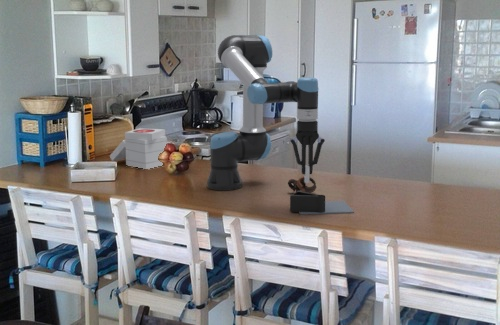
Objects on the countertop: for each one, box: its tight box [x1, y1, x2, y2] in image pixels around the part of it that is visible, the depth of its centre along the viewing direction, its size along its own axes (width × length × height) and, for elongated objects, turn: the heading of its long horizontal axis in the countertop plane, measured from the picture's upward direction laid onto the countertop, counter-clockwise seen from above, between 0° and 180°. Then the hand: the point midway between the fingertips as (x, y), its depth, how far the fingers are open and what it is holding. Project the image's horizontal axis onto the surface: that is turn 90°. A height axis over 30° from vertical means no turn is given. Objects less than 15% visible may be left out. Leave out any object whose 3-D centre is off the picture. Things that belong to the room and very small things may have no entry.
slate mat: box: [298, 200, 355, 215], centre depth 237 cm, size 20×16×1 cm
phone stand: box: [289, 191, 326, 213], centre depth 231 cm, size 9×6×12 cm
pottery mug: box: [287, 176, 317, 193], centre depth 258 cm, size 12×10×8 cm
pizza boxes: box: [109, 127, 168, 170], centre depth 321 cm, size 19×30×18 cm, turn 51°
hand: (306, 182), depth 234 cm, fingers closed
